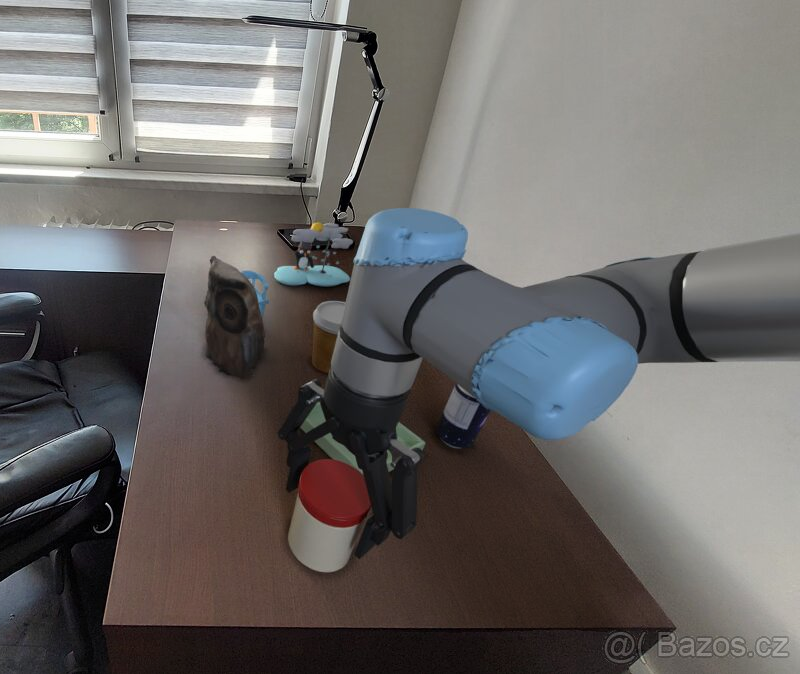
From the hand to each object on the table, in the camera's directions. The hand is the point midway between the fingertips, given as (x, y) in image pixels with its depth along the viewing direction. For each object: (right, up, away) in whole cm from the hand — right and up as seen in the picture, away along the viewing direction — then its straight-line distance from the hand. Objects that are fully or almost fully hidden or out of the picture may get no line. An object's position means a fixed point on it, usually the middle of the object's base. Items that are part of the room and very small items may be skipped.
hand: (327, 516), depth 56 cm
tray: (+10, +6, +19) cm, 22 cm away
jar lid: (0, +4, -3) cm, 5 cm away
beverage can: (+26, +5, +19) cm, 33 cm away
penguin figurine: (+14, +37, +66) cm, 77 cm away
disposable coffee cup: (+10, +17, +35) cm, 40 cm away
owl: (-8, +18, +36) cm, 41 cm away
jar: (0, -4, +3) cm, 5 cm away
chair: (-5, +25, +47) cm, 53 cm away
